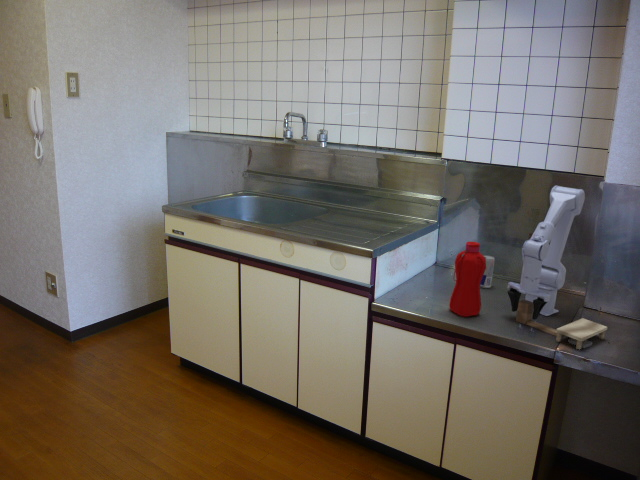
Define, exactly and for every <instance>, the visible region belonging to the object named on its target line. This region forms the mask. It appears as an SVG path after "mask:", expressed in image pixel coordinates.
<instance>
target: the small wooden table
mask: <svg viewBox="0 0 640 480" xmlns="http://www.w3.org/2000/svg"><path fill="white" fill-rule="evenodd" d="M555 330H556V332H557V336H555V337H556V338H555V342H558V343H561V342H562V337H563V335H564V336H565V337H569V338H570V339H571V338H573V339H576V340H577V344H576V346H575V350H577V349H579V350H578V351H581V350H582V348H581V346H582V341H584V340H588V339H590V338H592V337H594V336H596V335H598V339H600V340H604V339H605V335H606V331H607V330H608V326H606V325H603V324H601V323H598V322H594V321H592V320H589V319H586V318H584V317H582V318H579V319H577V320H575V321H573V322H570V323H567V324H565V325H562V326H560V327H558V328H556V329H555ZM580 349H581V350H580Z"/></svg>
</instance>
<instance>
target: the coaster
mask: <svg viewBox="0 0 640 480" xmlns="http://www.w3.org/2000/svg"><path fill="white" fill-rule="evenodd" d="M568 342H569V343H568ZM567 343H568V344H570V343H572V344H571V345H573V344H574V345H573V346H575V345H576V344H577V340H576V339H573V338H571V337H570V338H569V339H567ZM591 346H593V342H592V341H589V340H588V339H586V340H584V341H582V346H581V349H582V348H584V349H586V348H588V347H591Z"/></svg>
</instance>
